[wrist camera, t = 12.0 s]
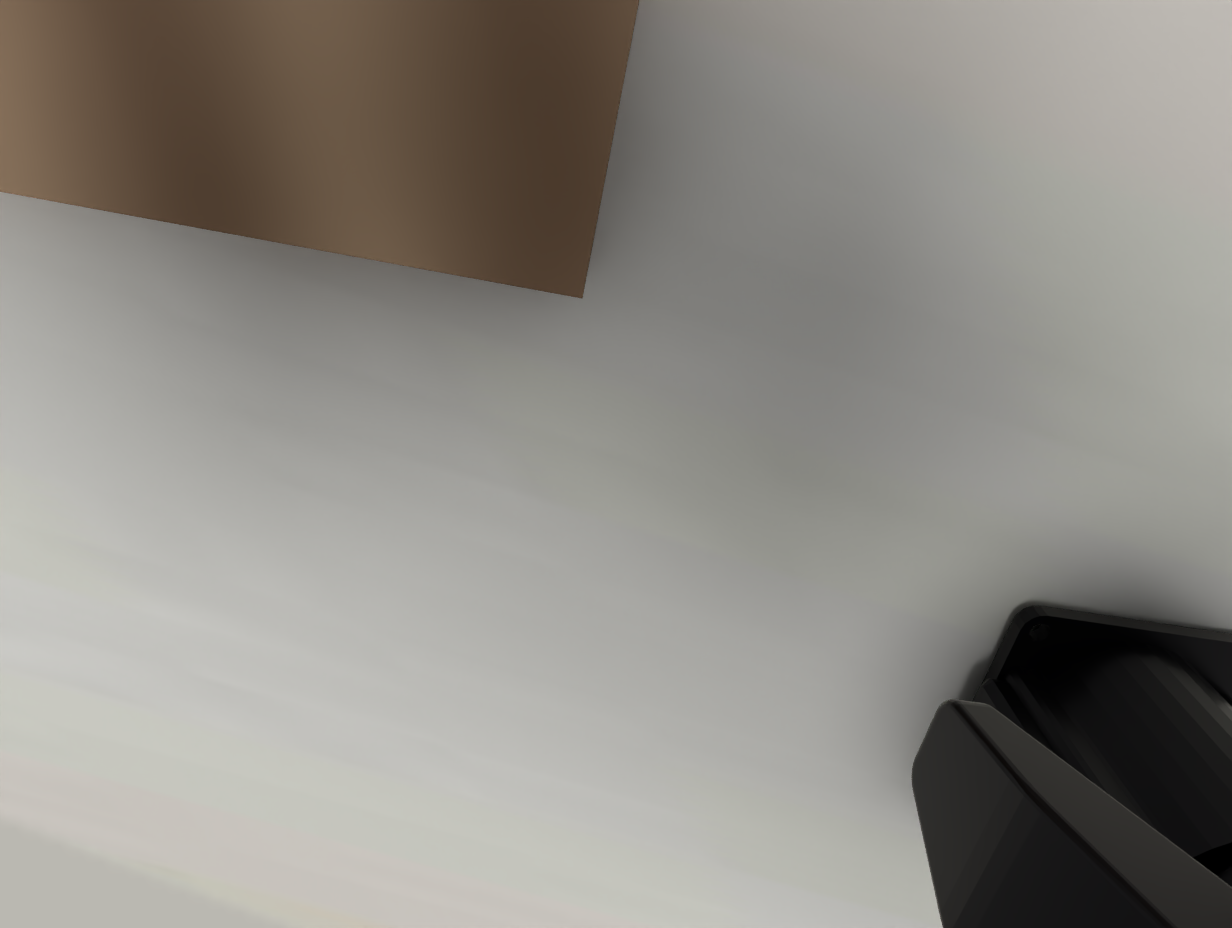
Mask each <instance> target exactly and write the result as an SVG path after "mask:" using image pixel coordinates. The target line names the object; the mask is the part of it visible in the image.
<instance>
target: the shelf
mask: <svg viewBox="0 0 1232 928" xmlns="http://www.w3.org/2000/svg"><path fill="white" fill-rule="evenodd" d="M638 4H639V0H0V192H5V193H11V194H16V195H22V196H27V197H33V198H38V199H44V200H49V201H54V202H60V203H65V204H71V205H76V206H82V207H87V208H93V209H98V210H104V211H109V212H114V213H120V214H125V215H131V216H136V217H142V218H147V219H153V220H158V221H163V222H169V223H174V224H180V225H185V226H191V227H196V228H202V229H207V230H212V231H218V232H223V233H229V234H234V235H240V236H245V237H251V238H256V239H262V240H267V241H272V242H278V243H283V244H289V245H294V246H300V247H305V248H311V249H316V250H321V251H327V252H332V253H338V254H343V255H349V256H354V257H360V258H365V259H370V260H376V261H381V262H387V263H392V264H398V265H403V266H409V267H414V268H420V269H425V270H430V271H436V272H441V273H447V274H452V275H458V276H463V277H469V278H474V279H479V280H485V281H490V282H496V283H501V284H507V285H512V286H518V287H523V288H528V289H534V290H539V291H545V292H550V293H556V294H561V295H567V296H572V297H578V298H582V297H583V292H584V287H585V282H586V276H587V271H588V266H589V261H590V255H591V250H592V245H593V240H594V234H595V229H596V224H597V219H598V213H599V208H600V203H601V198H602V192H603V187H604V182H605V177H606V171H607V166H608V161H609V156H610V150H611V145H612V140H613V135H614V129H615V124H616V119H617V114H618V108H619V103H620V98H621V93H622V87H623V82H624V77H625V72H626V67H627V61H628V56H629V51H630V46H631V40H632V35H633V30H634V25H635V19H636V14H637V9H638Z"/></svg>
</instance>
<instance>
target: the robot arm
mask: <svg viewBox="0 0 1232 928" xmlns="http://www.w3.org/2000/svg"><path fill="white" fill-rule="evenodd" d="M1038 624H1041V625H1040V627H1039V628H1038V629H1036V630H1034V631H1030V630H1031V629H1032V628H1033V627H1034V626H1036V625H1038ZM912 787H913V793H914V797H915V802H916V807H917V811H918V816H919V821H920V825H921V830H922V834H923V839H924V844H925V848H926V853H927V858H928V862H929V867H930V872H931V876H932V881H933V885H934V890H935V895H936V899H937V904H938V909H939V913H940V917H941V921H942V925H943V928H1232V634H1228V633H1221V632H1214V631H1208V630H1201V629H1194V628H1187V627H1181V626H1174V625H1167V624H1160V623H1153V622H1147V621H1140V620H1133V619H1126V618H1119V617H1113V616H1106V615H1099V614H1092V613H1086V612H1079V611H1072V610H1065V609H1058V608H1052V607H1045V606H1031V607H1028V608H1025V609H1023V610H1022V611H1020V612H1019V613H1018V614H1017V615H1016V616H1015V618H1014V619H1013V621H1012V623H1011V625H1010V627H1009V629H1008V631H1007V633H1006V635H1005V637H1004V639H1003V642H1002V644H1001V646H1000V648H999V650H998V652H997V654H996V656H995V658H994V660H993V662H992V665H991V667H990V669H989V671H988V673H987V675H986V677H985V679H984V681H983V683H982V685H981V686H980V687H979V690H978V692H977V694H976V696H975V698H974V700H973V702H972V701H964V700H956V699H950V700H947V701H945V702H943V703H942V704H941V705H940V706H939V708H938V710H937V711H936V713H935V716H934V718H933V720H932V722H931V724H930V727H929V729H928V731H927V733H926V735H925V738H924V740H923V742H922V744H921V746H920V748H919V751H918V753H917V755H916V757H915V760H914V763H913V768H912Z"/></svg>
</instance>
